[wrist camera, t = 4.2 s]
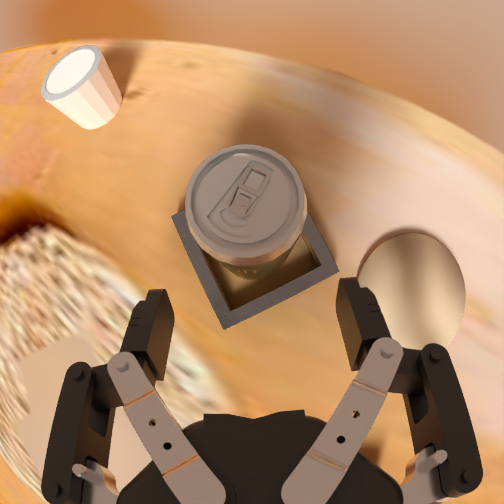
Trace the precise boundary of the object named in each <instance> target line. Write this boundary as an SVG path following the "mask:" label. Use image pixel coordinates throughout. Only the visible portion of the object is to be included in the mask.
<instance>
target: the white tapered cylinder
mask: <svg viewBox="0 0 504 504" xmlns="http://www.w3.org/2000/svg"><path fill="white" fill-rule="evenodd" d="M41 94H42V96H43V98H44V99H45V100H46V101H48V102H49V103H50V104H52V105H53V106H54V107H56V108H57V109H58V110H60V111H61V112H62V113H64V114H65V115H66V116H68V117H69V118H70V119H72V120H73V121H74V122H76V123H77V124H78V125H80V126H81V127H82V128H85V129H89V130H90V129H95V128H99V127H101V126H102V125H104V124H106V123H107V122H109V121H110V120H111V119H112V118H113V117H114V116H115V115H116V113H117V112H118V110H119V109H120V106H121V103H122V95H121V92H120V90H119V88H118V85H117V83H116V81H115V79H114V77H113V75H112V73H111V71H110V69H109V67H108V65H107V62H106V60H105V58H104V56H103V54H102V52H101V50H100V49H99V48H98V47H96V46H94V45H85V46H82V47H79V48H76V49H74V50H72V51H71V52H69V53H67V54H66V55H64V56H63V57H62V58H61V59H60V60H59V61H57V62H56V63H55V64H54V65H53V67H52V68H51V69H50V70H49V72H48V73H47V74H46V76H45V79H44V81H43V83H42V87H41Z"/></svg>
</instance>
